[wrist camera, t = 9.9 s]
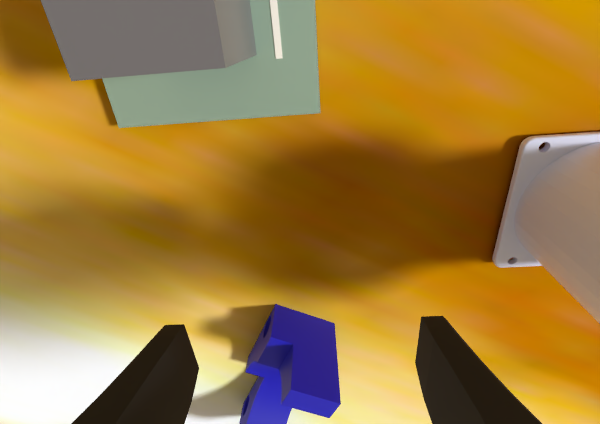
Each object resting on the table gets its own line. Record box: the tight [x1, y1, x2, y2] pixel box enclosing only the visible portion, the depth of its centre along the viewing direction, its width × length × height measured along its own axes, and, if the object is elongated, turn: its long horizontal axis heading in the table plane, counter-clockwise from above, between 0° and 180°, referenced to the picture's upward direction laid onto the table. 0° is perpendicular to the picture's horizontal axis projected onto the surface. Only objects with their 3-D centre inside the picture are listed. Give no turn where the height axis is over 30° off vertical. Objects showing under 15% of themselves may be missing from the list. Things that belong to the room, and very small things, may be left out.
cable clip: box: [240, 304, 341, 424], centre depth 23 cm, size 12×4×6 cm, turn 158°
